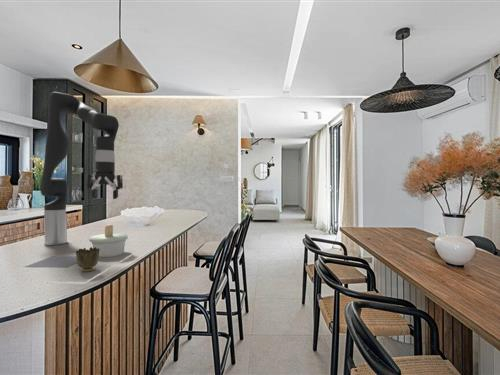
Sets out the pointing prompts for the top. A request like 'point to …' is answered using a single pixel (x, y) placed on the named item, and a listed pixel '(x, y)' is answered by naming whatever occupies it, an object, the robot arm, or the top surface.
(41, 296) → the top surface
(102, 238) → the lid
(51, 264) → the mat
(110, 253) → the ramekin
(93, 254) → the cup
